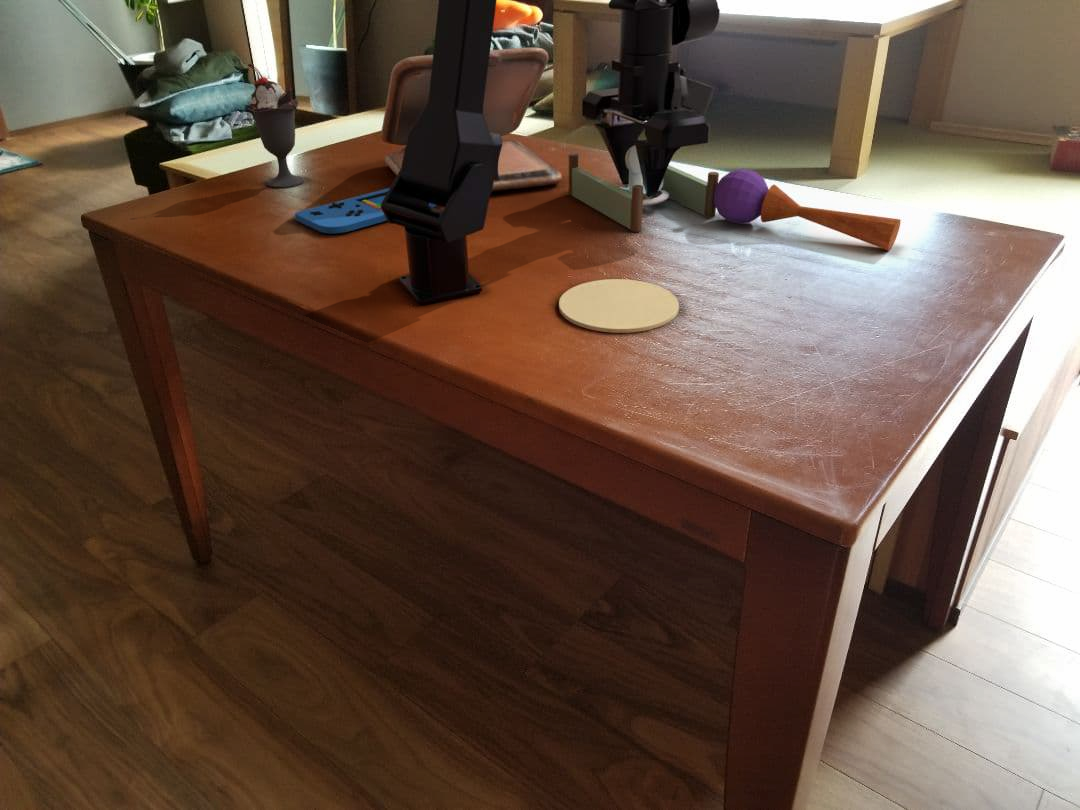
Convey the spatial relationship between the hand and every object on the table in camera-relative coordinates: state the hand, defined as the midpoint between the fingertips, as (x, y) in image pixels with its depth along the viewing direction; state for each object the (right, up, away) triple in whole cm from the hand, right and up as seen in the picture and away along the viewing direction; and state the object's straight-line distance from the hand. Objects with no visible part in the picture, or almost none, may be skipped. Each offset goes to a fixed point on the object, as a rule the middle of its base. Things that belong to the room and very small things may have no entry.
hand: (639, 190), depth 104 cm
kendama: (+17, -7, -8) cm, 20 cm away
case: (-21, +5, +13) cm, 26 cm away
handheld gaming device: (-33, -3, 0) cm, 33 cm away
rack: (0, -1, +1) cm, 2 cm away
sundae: (-46, +4, +12) cm, 47 cm away
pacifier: (0, -1, 0) cm, 1 cm away
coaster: (-5, -17, -24) cm, 29 cm away
